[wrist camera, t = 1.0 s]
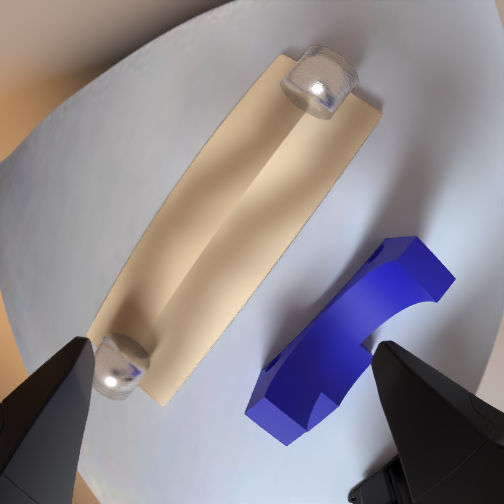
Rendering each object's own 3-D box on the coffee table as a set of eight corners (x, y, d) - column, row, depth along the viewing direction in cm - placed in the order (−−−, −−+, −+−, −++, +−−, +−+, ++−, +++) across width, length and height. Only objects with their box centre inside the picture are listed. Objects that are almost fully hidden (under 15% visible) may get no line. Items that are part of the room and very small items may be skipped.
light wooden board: (379, 120, 19) (382, 114, 17) (169, 400, 21) (163, 407, 20) (282, 62, 19) (280, 53, 18) (95, 332, 22) (86, 335, 21)
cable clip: (307, 409, 20) (306, 460, 14) (261, 370, 20) (244, 413, 14) (430, 284, 18) (472, 298, 12) (385, 238, 19) (416, 235, 13)
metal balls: (354, 94, 18) (362, 67, 14) (140, 387, 21) (115, 408, 17) (308, 67, 18) (307, 37, 14) (105, 355, 21) (76, 370, 17)
